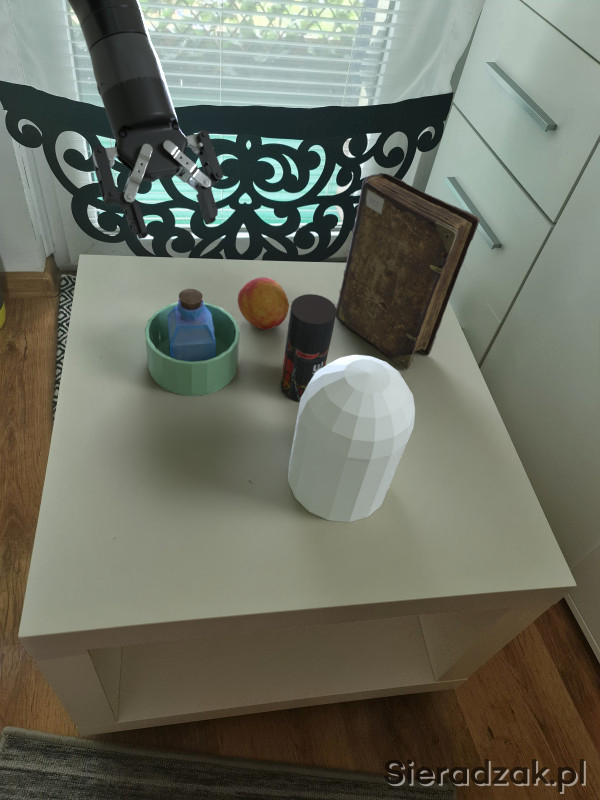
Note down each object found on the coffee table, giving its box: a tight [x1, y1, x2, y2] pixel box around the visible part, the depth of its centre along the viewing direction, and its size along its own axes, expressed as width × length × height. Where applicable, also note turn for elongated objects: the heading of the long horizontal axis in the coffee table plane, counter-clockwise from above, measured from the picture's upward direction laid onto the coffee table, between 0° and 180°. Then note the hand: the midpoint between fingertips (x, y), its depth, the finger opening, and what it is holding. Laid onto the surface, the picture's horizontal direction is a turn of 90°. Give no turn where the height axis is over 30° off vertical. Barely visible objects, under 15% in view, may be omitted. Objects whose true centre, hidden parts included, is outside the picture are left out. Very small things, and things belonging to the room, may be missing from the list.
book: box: [335, 172, 481, 371], centre depth 91 cm, size 17×7×25 cm, turn 42°
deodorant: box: [279, 293, 337, 403], centre depth 85 cm, size 6×6×15 cm
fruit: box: [237, 276, 290, 331], centre depth 96 cm, size 8×8×8 cm
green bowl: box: [144, 301, 241, 397], centre depth 89 cm, size 13×13×6 cm
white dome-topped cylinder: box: [287, 354, 416, 523], centre depth 73 cm, size 14×13×20 cm
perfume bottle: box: [167, 288, 216, 362], centre depth 86 cm, size 6×6×12 cm
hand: (178, 229), depth 73 cm, fingers open, 8 cm apart
